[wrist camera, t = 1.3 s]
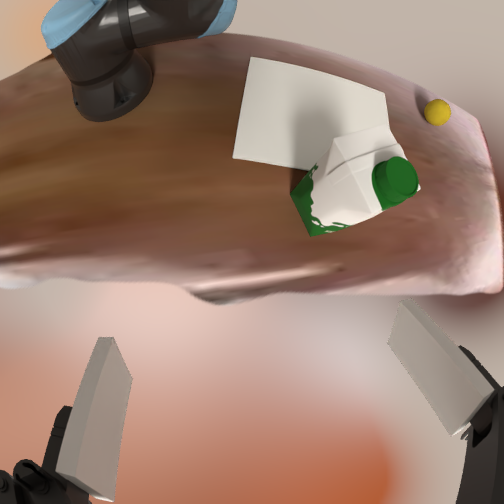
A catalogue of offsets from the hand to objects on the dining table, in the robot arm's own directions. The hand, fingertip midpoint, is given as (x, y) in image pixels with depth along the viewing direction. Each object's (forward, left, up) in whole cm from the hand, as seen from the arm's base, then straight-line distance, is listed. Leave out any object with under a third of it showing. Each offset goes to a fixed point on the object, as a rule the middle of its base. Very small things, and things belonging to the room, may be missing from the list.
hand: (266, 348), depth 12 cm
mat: (-32, +11, -27) cm, 44 cm away
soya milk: (-15, +11, -28) cm, 34 cm away
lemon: (-41, +37, -28) cm, 62 cm away
